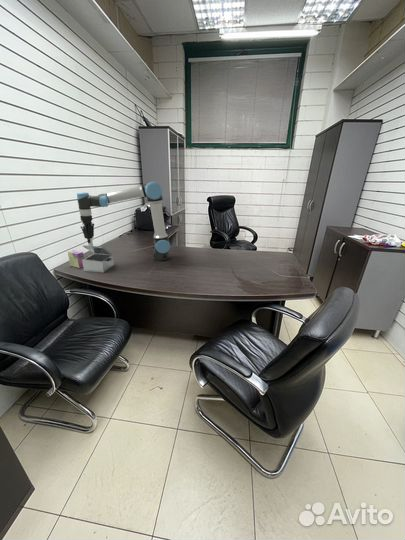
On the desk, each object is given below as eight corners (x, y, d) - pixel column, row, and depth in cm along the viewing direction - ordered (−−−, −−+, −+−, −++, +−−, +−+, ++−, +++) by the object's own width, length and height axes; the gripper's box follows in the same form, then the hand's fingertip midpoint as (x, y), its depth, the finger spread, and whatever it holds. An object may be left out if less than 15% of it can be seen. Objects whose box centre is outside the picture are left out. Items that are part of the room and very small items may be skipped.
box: (85, 265, 176) (83, 251, 171) (79, 268, 171) (76, 254, 166) (76, 263, 180) (74, 249, 175) (70, 265, 175) (67, 251, 170)
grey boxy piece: (116, 265, 178) (114, 255, 175) (106, 273, 164) (104, 261, 161) (93, 263, 180) (91, 253, 177) (81, 270, 167) (79, 259, 163)
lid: (112, 254, 175) (113, 251, 176) (102, 247, 160) (103, 244, 161) (94, 253, 177) (94, 250, 177) (82, 246, 162) (83, 243, 163)
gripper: (86, 213, 163) (91, 244, 172) (75, 216, 151) (80, 248, 160) (96, 214, 163) (100, 244, 172) (85, 216, 151) (90, 249, 160)
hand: (90, 246), depth 166 cm, fingers closed
